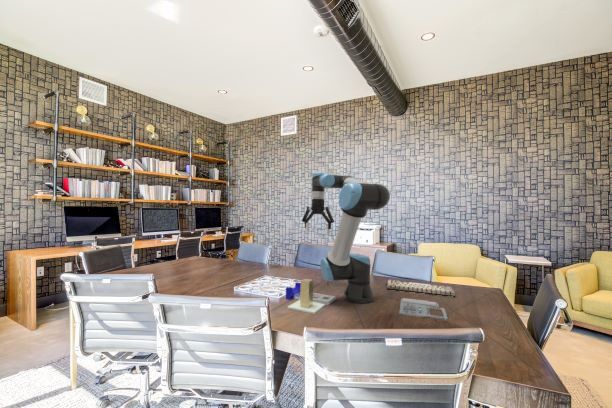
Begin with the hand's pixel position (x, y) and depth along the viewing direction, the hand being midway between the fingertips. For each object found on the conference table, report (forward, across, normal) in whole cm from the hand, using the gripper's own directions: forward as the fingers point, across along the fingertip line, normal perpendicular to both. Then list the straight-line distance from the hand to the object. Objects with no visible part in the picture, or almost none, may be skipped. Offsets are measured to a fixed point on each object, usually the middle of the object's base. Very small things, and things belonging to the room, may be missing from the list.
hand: (317, 234), depth 169 cm
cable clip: (+32, +4, +21) cm, 39 cm away
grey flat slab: (+32, -59, +8) cm, 68 cm away
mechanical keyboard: (+33, -54, -26) cm, 69 cm away
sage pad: (+32, -10, +33) cm, 47 cm away
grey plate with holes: (+32, -8, +20) cm, 38 cm away
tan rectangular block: (+31, -10, +33) cm, 46 cm away
